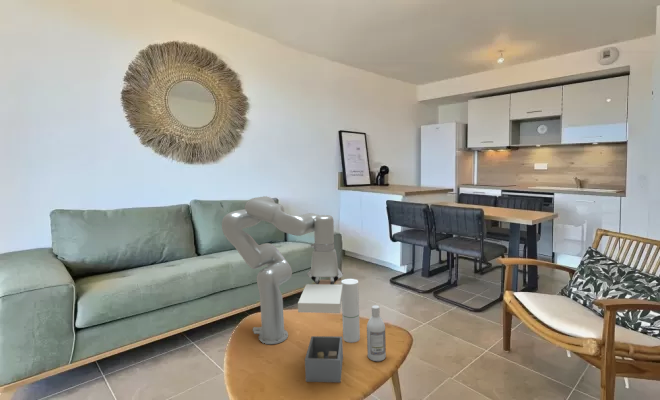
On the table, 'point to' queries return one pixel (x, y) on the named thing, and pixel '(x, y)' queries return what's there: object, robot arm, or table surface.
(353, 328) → the cylindrical container
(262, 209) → the robot arm
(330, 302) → the lid
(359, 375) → the table surface
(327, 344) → the tub
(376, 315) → the bath foam
